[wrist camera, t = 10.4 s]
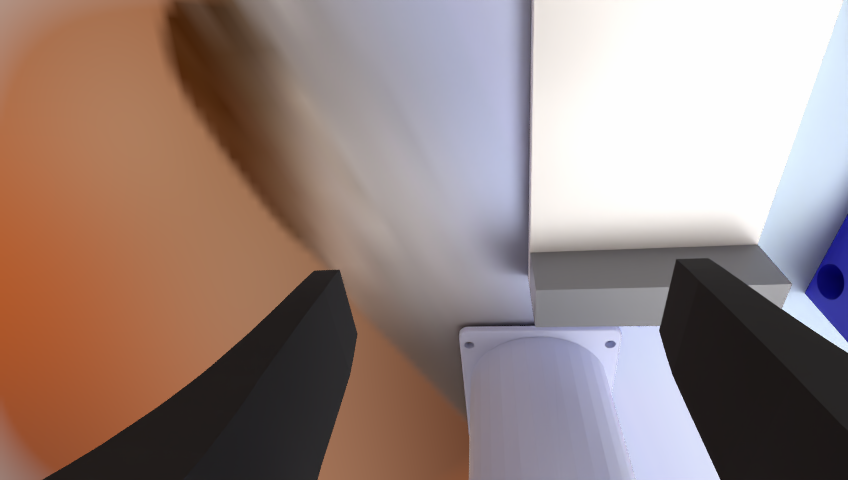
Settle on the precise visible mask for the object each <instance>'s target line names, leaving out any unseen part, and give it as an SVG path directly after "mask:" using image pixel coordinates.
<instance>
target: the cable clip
mask: <svg viewBox="0 0 848 480" xmlns="http://www.w3.org/2000/svg"><path fill="white" fill-rule="evenodd" d="M805 294H806V295H807V296H808V298H809V299H810V300H811V301H812V302H813V303H814V304H815V306H816V307H817V308H818V309H819V310H820V311H821V312H822V313H823V315H824V316H825V317H826V318H827V319H828V320H829V321H830V323H831V324H832V325H833V326H834V327H835V328H836V329H837V330H838V332H839V333H840V334H841V335H842V336H843V337H844V338H845V340H846V341H847V342H848V214H847V216H846V218H845V220H844V222H843V224H842V225H841V227H840V229H839V231H838V233H837V235H836V236H835V238H834V240H833V242H832V244H831V246H830V248H829V249H828V251H827V253H826V255H825V257H824V259H823V260H822V262H821V264H820V266H819V268H818V270H817V272H816V273H815V275H814V277H813V279H812V281H811V283H810V284H809V286H808V288H807V290H806V292H805Z"/></svg>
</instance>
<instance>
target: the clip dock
mask: <svg viewBox="0 0 848 480" xmlns="http://www.w3.org/2000/svg"><path fill="white" fill-rule="evenodd" d="M842 3H843V0H532V18H531V94H530V170H529V245H528V280H529V287H530V294H531V301H532V308H533V316H534V323H535V327H598V326H660V325H661V321H662V317H663V313H664V308H665V304H666V300H667V296H668V291H669V287H670V283H671V279H672V275H673V270H674V266H675V262H676V259H694V258H709V259H711V260H712V261H714V262H715V263H717V264H718V265H720V266H721V267H723V268H724V269H726V270H727V271H728V272H730V273H731V274H733V275H734V276H736V277H737V278H738V279H740V280H741V281H743V282H744V283H745V284H747V285H748V286H750V287H751V288H752V289H754V290H755V291H757V292H758V293H760V294H761V295H762V296H764V297H765V298H767V299H768V300H769V301H771V302H772V303H774V304H775V305H777V306H778V307H779V308H781V309H782V307H783V304H784V302H785V300H786V297H787V295H788V293H789V290H790V288H791V286H792V283H791V282H790V281H789V280H788V279H787V278H786V277H785V275H784V274H783V273H782V272H781V271H780V270H779V269H778V267H777V266H776V265H775V264H774V263H773V262H772V261H771V259H770V258H769V257H768V256H767V255H766V254H765V253H764V251H763V250H762V249H761V248H760V247H759V246H758V242H759V239H760V236H761V233H762V230H763V227H764V224H765V222H766V219H767V216H768V213H769V210H770V207H771V205H772V202H773V199H774V196H775V193H776V190H777V188H778V185H779V182H780V179H781V176H782V173H783V171H784V168H785V165H786V162H787V159H788V156H789V153H790V151H791V148H792V145H793V142H794V139H795V136H796V134H797V131H798V128H799V125H800V122H801V119H802V117H803V114H804V111H805V108H806V105H807V102H808V99H809V97H810V94H811V91H812V88H813V85H814V82H815V80H816V77H817V74H818V71H819V68H820V65H821V63H822V60H823V57H824V54H825V51H826V48H827V45H828V43H829V40H830V37H831V34H832V31H833V28H834V26H835V23H836V20H837V17H838V14H839V11H840V9H841V6H842Z"/></svg>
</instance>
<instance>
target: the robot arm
mask: <svg viewBox="0 0 848 480" xmlns="http://www.w3.org/2000/svg"><path fill="white" fill-rule="evenodd" d="M659 332H660V335H661V338H662V342H663V345H664V349H665V352H666V356H667V359H668V362H669V365H670V368H671V371H672V375H673V377H674V379H675V381H676V384H677V386H678V388H679V390H680V393H681V395H682V397H683V399H684V402H685V404H686V406H687V408H688V410H689V413H690V415H691V417H692V419H693V421H694V423H695V426H696V428H697V430H698V432H699V434H700V436H701V439H702V441H703V443H704V445H705V447H706V449H707V452H708V454H709V456H710V458H711V460H712V462H713V465H714V467H715V469H716V471H717V473H718V475H719V478H720V480H848V353H847V352H845V351H844V350H842V349H841V348H839V347H837V346H836V345H834V344H833V343H831V342H830V341H828V340H827V339H825V338H824V337H822V336H821V335H819V334H818V333H816V332H814V331H813V330H812V329H810V328H809V327H807V326H806V325H804V324H803V323H801V322H800V321H798V320H797V319H795V318H794V317H792V316H791V315H789V314H788V313H787V312H785V311H784V310H782V309H781V308H779V307H778V306H777V305H775V304H774V303H772V302H771V301H769V300H768V299H767V298H765V297H764V296H762V295H761V294H760V293H758V292H757V291H755V290H754V289H752V288H751V287H750V286H748V285H747V284H745V283H744V282H743V281H741V280H740V279H738V278H737V277H736V276H734V275H733V274H731V273H730V272H728V271H727V270H726V269H724V268H723V267H721V266H720V265H718V264H717V263H715V262H714V261H712V260H711V259H709V258H694V259H676V262H675V266H674V270H673V275H672V279H671V283H670V287H669V291H668V296H667V300H666V304H665V308H664V313H663V317H662V321H661V325H660V329H659ZM356 339H357V331H356V328H355V324H354V320H353V317H352V313H351V309H350V306H349V302H348V298H347V295H346V291H345V288H344V284H343V280H342V277H341V273H340V270H322V271H314V272H312V273H311V274H310V275H309V276H308V277H307V278H306V279H305V280H304V281H303V282H302V283H301V284H300V285H299V286H297V287H296V288H295V289H294V290H293V291H292V292H291V293H290V295H288V296H287V297H286V298H285V299H284V300H283V301H282V302H281V303H280V304H279V305H278V306H277V307H276V308H275V309H274V310H273V311H272V312H271V313H270V314H269V315H268V316H267V317H266V318H265V319H263V320H262V321H261V322H260V323H259V324H258V325H257V326H256V327H255V328H254V329H253V330H252V331H251V332H250V333H249V334H247V335H246V336H245V337H244V338H243V339H242V340H241V341H239V342H238V343H237V344H236V345H235V346H234V347H233V348H231V349H230V350H229V351H228V352H227V353H226V354H225V355H223V356H222V357H221V358H220V359H219V360H218V361H217V362H215V364H213V365H212V366H211V367H209V368H208V369H207V370H206V371H205V372H204V373H202V374H201V375H200V376H198V377H197V378H196V379H195V380H193V381H192V382H191V383H189V384H188V385H187V386H185V387H184V388H183V389H181V390H180V391H179V392H177V393H176V394H175V395H174V396H172V397H171V398H170V399H168V400H167V401H165V402H164V403H163V404H161V405H160V406H158V407H157V408H156V409H154V410H153V411H151V412H150V413H148V414H147V415H145V416H144V417H142V418H141V419H139V420H138V421H136V422H135V423H133V424H132V425H130V426H129V427H127V428H126V429H124V430H123V431H121V432H120V433H118V434H117V435H115V436H114V437H112V438H111V439H109V440H108V441H106V442H105V443H103V444H102V445H100V446H98V447H97V448H95V449H94V450H92V451H90V452H89V453H87V454H85V455H84V456H82V457H80V458H79V459H77V460H75V461H74V462H72V463H71V464H69V465H67V466H65V467H64V468H62V469H61V470H58V471H57V472H55V473H53V474H51V475H50V476H48V477H46V478H45V479H43V480H317V479H318V476H319V472H320V469H321V465H322V462H323V459H324V455H325V452H326V449H327V446H328V443H329V439H330V437H331V434H332V430H333V427H334V424H335V421H336V418H337V415H338V412H339V409H340V405H341V402H342V399H343V396H344V392H345V389H346V386H347V383H348V379H349V376H350V372H351V367H352V362H353V357H354V351H355V344H356ZM621 339H622V333H621V331H620V329H619V327H617V326H598V327H535V326H485V327H464V328H462V329H461V330H460V332H459V342H460V352H461V361H462V371H463V381H464V390H465V400H466V410H467V419H468V429H469V436H470V454H469V455H470V456H469V480H636V478H635V474H634V471H633V467H632V464H631V460H630V457H629V453H628V450H627V446H626V443H625V439H624V436H623V432H622V429H621V425H620V422H619V418H618V415H617V411H616V407H615V404H614V400H613V397H612V390H613V385H614V379H615V373H616V367H617V362H618V356H619V350H620V345H621ZM607 341H611V342H607ZM467 342H472V343H467Z"/></svg>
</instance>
